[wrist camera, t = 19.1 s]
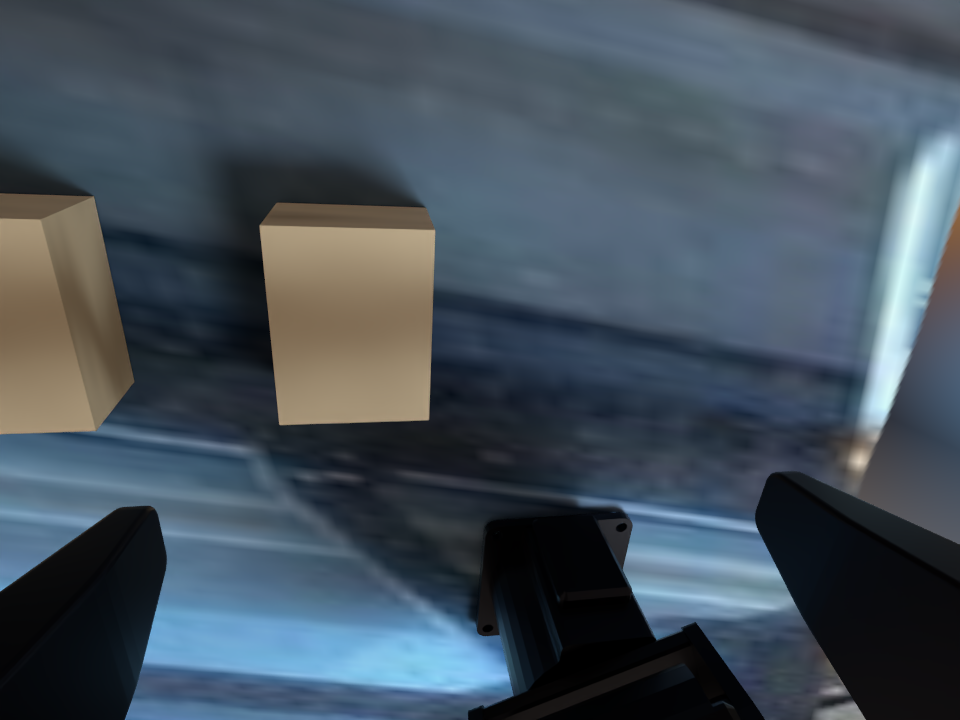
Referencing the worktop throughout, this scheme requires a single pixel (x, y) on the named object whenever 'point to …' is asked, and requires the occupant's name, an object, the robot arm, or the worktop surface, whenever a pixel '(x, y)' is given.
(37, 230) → the beam
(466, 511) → the worktop surface
